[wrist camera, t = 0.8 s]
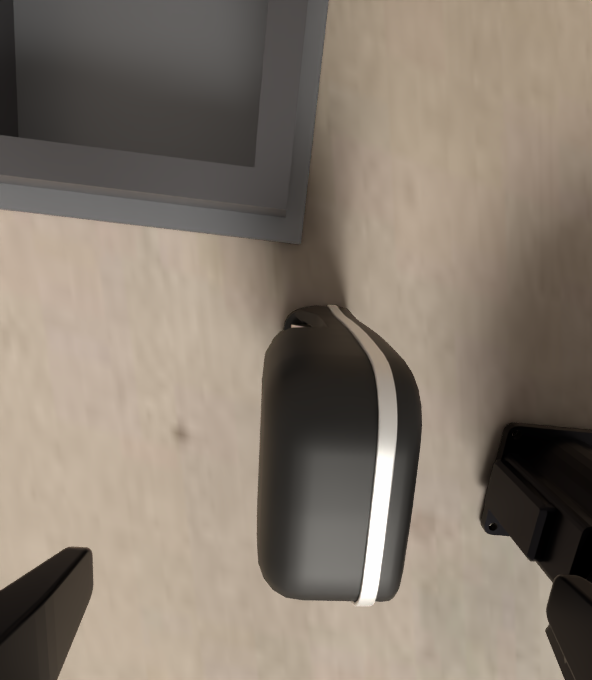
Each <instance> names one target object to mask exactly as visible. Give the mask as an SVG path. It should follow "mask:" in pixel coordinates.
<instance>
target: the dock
mask: <svg viewBox="0 0 592 680" xmlns="http://www.w3.org/2000/svg"><path fill="white" fill-rule="evenodd" d="M328 1H329V0H0V209H3V210H11V211H20V212H28V213H37V214H45V215H54V216H62V217H71V218H79V219H88V220H96V221H105V222H113V223H122V224H130V225H139V226H147V227H156V228H164V229H173V230H181V231H190V232H198V233H207V234H215V235H224V236H232V237H241V238H249V239H258V240H266V241H275V242H283V243H292V244H301V239H302V230H303V221H304V212H305V204H306V195H307V186H308V177H309V168H310V160H311V151H312V142H313V133H314V124H315V116H316V107H317V98H318V89H319V81H320V72H321V63H322V54H323V45H324V37H325V28H326V19H327V10H328Z"/></svg>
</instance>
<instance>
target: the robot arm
mask: <svg viewBox="0 0 592 680" xmlns="http://www.w3.org/2000/svg"><path fill="white" fill-rule="evenodd" d="M515 431H517V434H516V435H514V436H512V434H513V432H515ZM484 503H485V507H484V511H483V515H482V519H481V526H482V528H483V529H484V530H485V532H486V533H488V534H491V535H502V536H510V537H511V538H512V539H513V540H514V542H515V543H516V544H517V546H518V547H519V548H520V549H521V551H522V552H523V553H524V555H525V556H526V557H527V558H528V560H530V561H535V562H537V564H538V565H539V566H540V567H541V569H542V570H543V571H544V572H545V574H546V575H547V576H548V577H549V579H550V580H551V581H552V582H553V585H552V589H551V592H550V596H549V600H548V603H547V608H546V613H547V618H548V622H549V626H548V627H547V628H546V630H545V632H546V634H547V637H548V639H549V642H550V644H551V647H552V649H553V651H554V654H555V656H556V659H557V661H558V664H559V666H560V669H561V671H562V674H563V676H564V679H565V680H592V430H586V429H576V428H565V427H554V426H544V425H533V424H523V423H510V424H508V425H507V426H506V427H505V429H504V431H503V435H502V439H501V443H500V447H499V451H498V455H497V459H496V461H495V463H494V465H493V469H492V473H491V477H490V481H489V485H488V489H487V493H486V497H485V501H484ZM491 523H493V524H492V525H491V526H489V525H490V524H491ZM92 590H93V558H92V551H91V549H89V548H87V547H67V548H65V549H63V550H62V551H60V552H59V553H57V554H56V555H54V556H53V557H51V558H50V559H48V560H47V561H45V562H43V563H42V564H40V565H39V566H37V567H36V568H34V569H33V570H31V571H30V572H28V573H27V574H25V575H23V576H22V577H20V578H19V579H17V580H16V581H14V582H13V583H11V584H10V585H8V586H7V587H5V588H3V589H2V590H0V680H57V679H58V676H59V674H60V671H61V669H62V666H63V664H64V662H65V659H66V657H67V654H68V652H69V649H70V647H71V644H72V642H73V640H74V637H75V635H76V632H77V630H78V627H79V625H80V622H81V620H82V618H83V615H84V613H85V610H86V608H87V605H88V603H89V600H90V598H91V594H92Z"/></svg>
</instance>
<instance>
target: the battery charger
mask: <svg viewBox="0 0 592 680" xmlns="http://www.w3.org/2000/svg"><path fill="white" fill-rule="evenodd" d="M421 431H422V413H421V401H420V396H419V390H418V387H417V384H416V381H415V378H414V376H413V374H412V372H411V370H410V369H409V367H408V366H407V364H406V362H405V361H404V360H403V359H402V358H401V357H400V356H399V354H398V353H397V352H396V351H395V350H394V349H393V348H392V347H391V346H390V345H389V344H388V343H387V342H386V341H385V340H384V339H383V338H381V337H380V336H379V335H378V334H377V333H375V332H374V331H373V330H371V329H370V328H369V327H367V326H366V325H364V324H363V323H361V322H359V321H358V320H357V319H356V318H355V317H354V316H353V315H352V314H351V312H350V311H349V310H348V309H347V308H343V307H337V305H327V306H311V307H304V308H301V309H298V310H295V311H294V312H292V313H291V314H290V315H289V316H288V317H287V319H286V321H285V325H284V331H281V332H279V334H278V335H277V336H276V337H275V338H274V339H273V340H272V343H271V344H270V346H269V348H268V349H267V351H266V353H265V359H264V368H263V377H262V399H261V424H260V450H259V476H258V499H257V549H258V563H259V566H260V569H261V572H262V574H263V577H264V579H265V580H266V582H267V583H268V584H269V585H270V587H271V588H272V589H273V590H274V591H276V592H277V593H279V594H281V595H283V596H284V597H286V598H293V599H299V600H324V601H351V602H352V603H353V605H354V606H372V605H373V604H374V602H375V601H378V602H383V601H389V600H391V599H392V598H393V597H394V596H395V594H396V593H397V591H398V589H399V586H400V582H401V578H402V573H403V568H404V561H405V555H406V548H407V542H408V535H409V528H410V522H411V515H412V508H413V500H414V492H415V484H416V476H417V468H418V460H419V453H420V443H421Z"/></svg>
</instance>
